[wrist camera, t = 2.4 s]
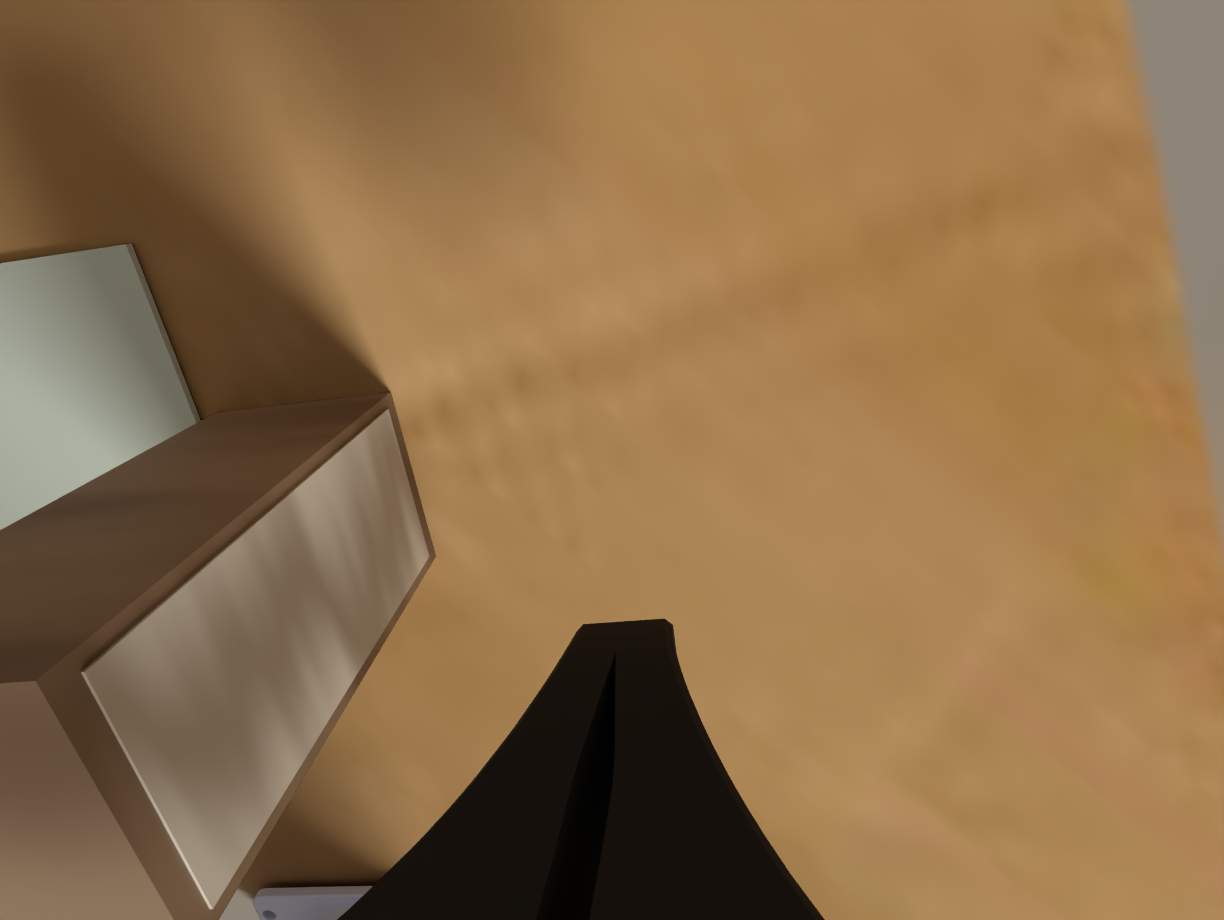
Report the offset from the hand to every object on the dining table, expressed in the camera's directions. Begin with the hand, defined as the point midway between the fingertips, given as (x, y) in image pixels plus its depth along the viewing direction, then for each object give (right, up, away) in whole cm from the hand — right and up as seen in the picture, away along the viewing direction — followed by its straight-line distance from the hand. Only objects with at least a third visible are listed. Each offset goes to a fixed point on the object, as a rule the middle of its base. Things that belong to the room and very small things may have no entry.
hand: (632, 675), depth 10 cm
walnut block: (-8, +2, +9) cm, 12 cm away
